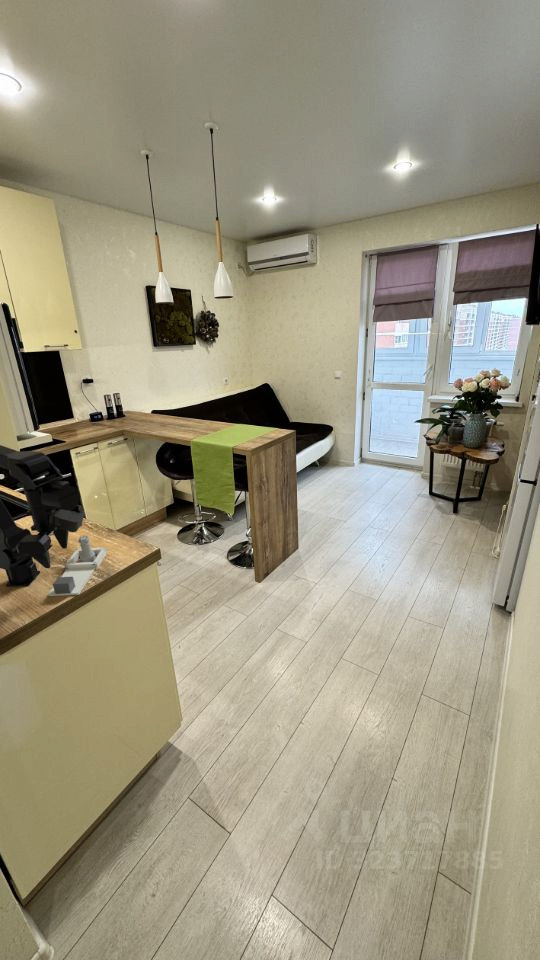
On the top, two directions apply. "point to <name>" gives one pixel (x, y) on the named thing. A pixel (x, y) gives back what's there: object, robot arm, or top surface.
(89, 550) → the rook chess piece
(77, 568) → the grey board with frame
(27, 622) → the top surface
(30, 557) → the robot arm
